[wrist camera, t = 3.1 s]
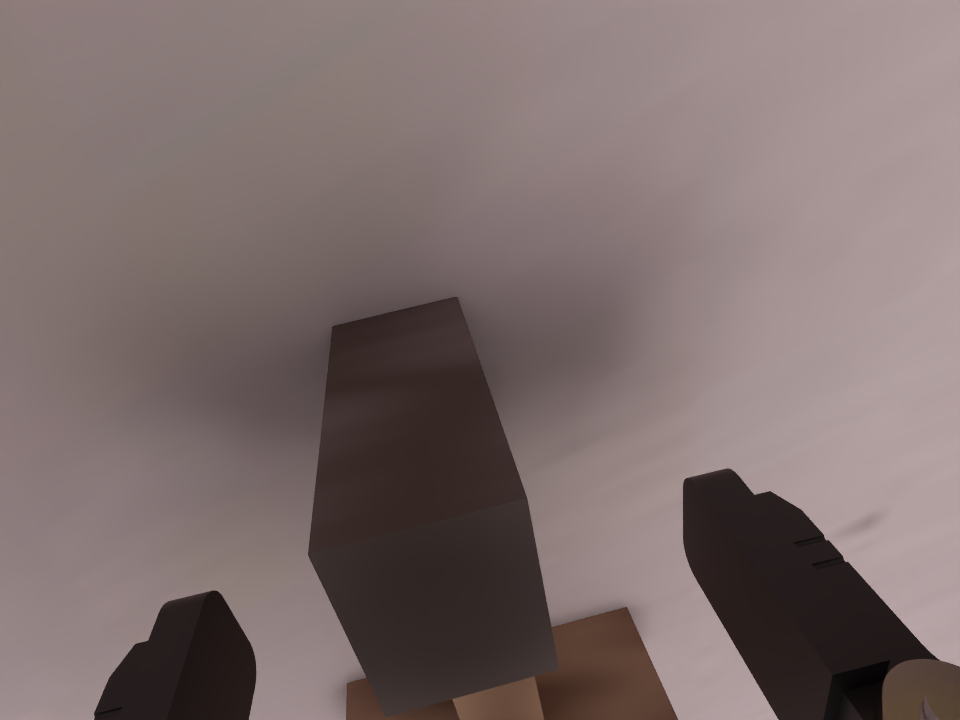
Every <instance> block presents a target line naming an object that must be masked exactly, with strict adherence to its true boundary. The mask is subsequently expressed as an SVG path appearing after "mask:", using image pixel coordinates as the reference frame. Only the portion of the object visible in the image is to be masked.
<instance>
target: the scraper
mask: <svg viewBox="0 0 960 720" xmlns="http://www.w3.org/2000/svg"><path fill="white" fill-rule="evenodd" d="M308 556H309V558H310V560H311V562H312V564H313V566H314V568H315V570H316V573H317V575H318V577H319V579H320V581H321V583H322V585H323V587H324V589H325V591H326V593H327V596H328V598H329V600H330V602H331V604H332V606H333V608H334V610H335V612H336V614H337V616H338V619H339V621H340V623H341V625H342V627H343V629H344V631H345V633H346V635H347V637H348V639H349V642H350V644H351V646H352V648H353V650H354V652H355V654H356V656H357V658H358V660H359V662H360V665H361V667H362V669H363V671H364V673H365V675H366V677H367V678H365V679H361V680H358V681H354V682H350V683H347V706H346V720H678V718H677V716H676V714H675V712H674V710H673V707H672V705H671V703H670V701H669V699H668V696H667V694H666V692H665V690H664V688H663V686H662V683H661V681H660V679H659V677H658V675H657V672H656V670H655V668H654V666H653V664H652V661H651V659H650V657H649V655H648V653H647V650H646V648H645V646H644V644H643V642H642V639H641V637H640V635H639V633H638V631H637V628H636V626H635V624H634V622H633V620H632V617H631V615H630V613H629V611H628V609H627V607H625V608H621V609H618V610H614V611H610V612H607V613H603V614H599V615H596V616H592V617H588V618H585V619H581V620H577V621H574V622H570V623H566V624H563V625H559V626H555V627H552V628H551V623H550V618H549V612H548V607H547V602H546V596H545V591H544V586H543V580H542V575H541V570H540V564H539V559H538V554H537V548H536V543H535V538H534V532H533V527H532V522H531V517H530V511H529V506H528V501H527V497H526V494H525V491H524V488H523V485H522V482H521V479H520V476H519V474H518V471H517V468H516V465H515V462H514V459H513V456H512V453H511V451H510V448H509V445H508V442H507V439H506V436H505V433H504V430H503V428H502V425H501V422H500V419H499V416H498V413H497V410H496V407H495V405H494V402H493V399H492V396H491V393H490V390H489V387H488V385H487V382H486V379H485V376H484V373H483V370H482V367H481V364H480V362H479V359H478V356H477V353H476V350H475V347H474V344H473V341H472V339H471V336H470V333H469V330H468V327H467V324H466V321H465V318H464V316H463V313H462V310H461V307H460V304H459V301H458V298H457V297H455V298H451V299H447V300H443V301H438V302H434V303H430V304H426V305H421V306H417V307H413V308H409V309H405V310H400V311H396V312H392V313H388V314H384V315H379V316H375V317H371V318H367V319H363V320H358V321H354V322H350V323H346V324H342V325H337V326H333V328H332V337H331V347H330V356H329V365H328V375H327V384H326V393H325V402H324V412H323V421H322V430H321V440H320V449H319V458H318V467H317V477H316V486H315V495H314V505H313V514H312V523H311V532H310V542H309V551H308Z"/></svg>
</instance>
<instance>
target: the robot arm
mask: <svg viewBox="0 0 960 720" xmlns="http://www.w3.org/2000/svg"><path fill="white" fill-rule="evenodd" d="M683 542H684V549H685V553H686V557H687V560H688V563H689V565H690V568H691V570H692V572H693V574H694V576H695V578H696V580H697V582H698V583H699V585H700V587H701V588H702V590H703V592H704V593H705V595H706V597H707V599H708V600H709V602H710V604H711V605H712V607H713V609H714V611H715V612H716V614H717V616H718V617H719V619H720V621H721V622H722V624H723V626H724V628H725V629H726V631H727V633H728V634H729V636H730V638H731V639H732V641H733V643H734V645H735V646H736V648H737V650H738V651H739V653H740V655H741V656H742V658H743V660H744V662H745V663H746V665H747V667H748V668H749V670H750V672H751V673H752V675H753V677H754V679H755V680H756V682H757V684H758V685H759V687H760V689H761V690H762V692H763V694H764V696H765V697H766V699H767V701H768V702H769V704H770V706H771V708H772V709H773V711H774V713H775V714H776V716H777V718H778V719H779V720H960V667H959V666H956V665H953V664H950V663H947V662H943V661H940V660H939V659H937V658H936V657H935V656H934V655H933V654H931V653H930V652H929V651H928V650H927V649H926V648H925V647H924V646H923V645H922V644H921V643H920V641H919V640H918V639H917V638H916V637H915V636H914V635H913V634H912V632H911V631H910V630H909V629H908V628H907V627H906V626H905V625H904V624H903V622H902V621H901V620H900V619H899V618H898V617H897V616H896V615H895V614H894V612H893V611H892V610H891V609H890V608H889V607H888V606H887V605H886V604H885V602H884V601H883V600H882V599H881V598H880V597H879V596H878V595H877V594H876V592H875V591H874V590H873V589H872V588H871V587H870V586H869V585H868V584H867V582H866V581H865V580H864V579H863V578H862V577H861V576H860V575H859V574H858V572H857V571H856V570H855V569H854V568H853V567H852V566H851V565H850V563H849V562H845V561H844V559H843V556H842V555H841V553H840V552H839V551H838V550H837V549H836V548H835V547H834V546H833V545H832V543H831V542H830V541H829V540H827V541H826V540H825V538H824V535H823V533H822V532H821V531H820V530H819V529H818V528H817V527H816V526H815V525H814V523H813V522H812V521H811V520H810V519H809V518H808V517H807V516H806V515H805V513H804V512H803V511H802V510H801V509H799V508H797V507H796V506H794V505H792V504H791V503H789V502H787V501H786V500H784V499H782V498H781V497H779V496H777V495H776V494H774V493H772V492H771V491H769V492H765V493H761V494H757V495H754V494H753V493H752V492H751V490H750V489H749V488H748V487H747V486H746V484H745V483H744V482H743V481H742V479H741V478H740V477H739V476H738V475H737V474H736V473H735V472H734V471H733V470H731V469H728V468H727V469H723V470H719V471H715V472H711V473H706V474H702V475H698V476H694V477H690V478H686V479H685V480H684V484H683ZM255 683H256V662H255V656H254V652H253V649H252V646H251V644H250V642H249V640H248V639H247V637H246V635H245V634H244V632H243V630H242V629H241V627H240V625H239V623H238V622H237V620H236V618H235V617H234V615H233V613H232V612H231V610H230V608H229V606H228V605H227V603H226V601H225V600H224V598H223V596H222V595H221V594H220V593H219V592H218V591H209V592H205V593H201V594H197V595H193V596H189V597H185V598H180V599H176V600H172V601H168V602H167V603H165V604H164V605H163V607H162V608H161V610H160V612H159V614H158V617H157V619H156V622H155V624H154V627H153V630H152V632H151V635H150V637H149V640H148V641H145V642H141V643H137V644H135V645H134V646H133V648H132V649H131V650H130V652H129V653H128V654H127V655H126V657H125V658H124V659H123V661H122V662H121V663H120V665H119V666H118V667H117V668H116V670H115V671H114V672H113V674H112V675H111V676H110V678H109V680H108V682H107V684H106V687H105V689H104V691H103V694H102V696H101V698H100V701H99V703H98V706H97V708H96V710H95V713H94V715H95V719H94V720H249V715H250V710H251V705H252V700H253V694H254V689H255Z"/></svg>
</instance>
